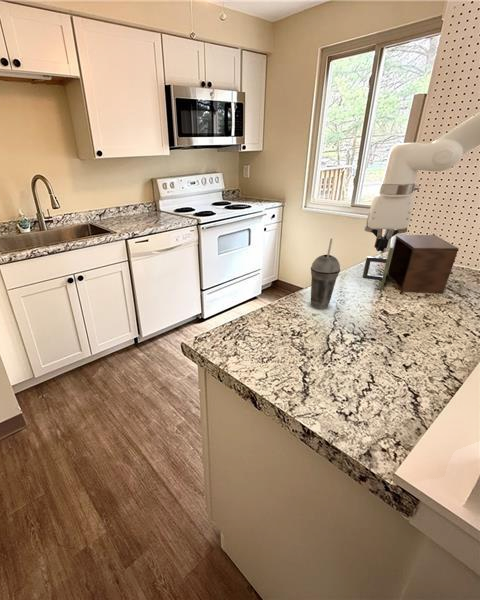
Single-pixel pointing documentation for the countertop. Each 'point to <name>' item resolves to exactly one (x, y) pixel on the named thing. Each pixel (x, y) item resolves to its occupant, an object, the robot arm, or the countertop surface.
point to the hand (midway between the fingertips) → (379, 250)
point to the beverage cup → (323, 279)
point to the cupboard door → (381, 260)
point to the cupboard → (421, 263)
